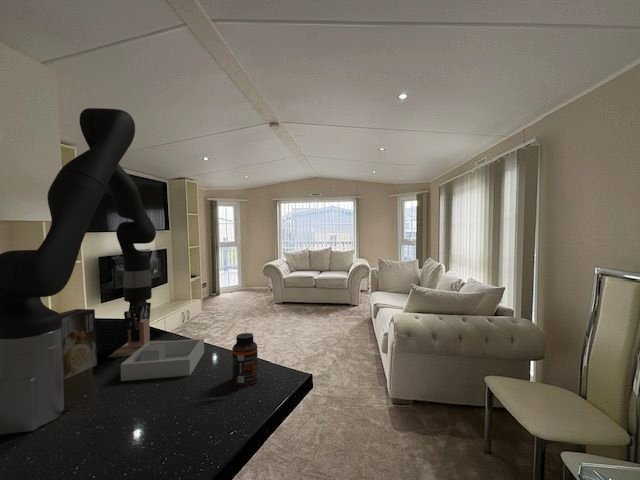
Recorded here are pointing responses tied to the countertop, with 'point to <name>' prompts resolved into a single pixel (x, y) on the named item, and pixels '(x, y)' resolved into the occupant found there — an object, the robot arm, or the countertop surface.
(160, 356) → the plain block
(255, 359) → the supplement bottle
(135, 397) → the countertop surface
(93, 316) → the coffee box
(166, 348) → the bin
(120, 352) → the board
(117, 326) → the countertop surface
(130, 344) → the labelled block
